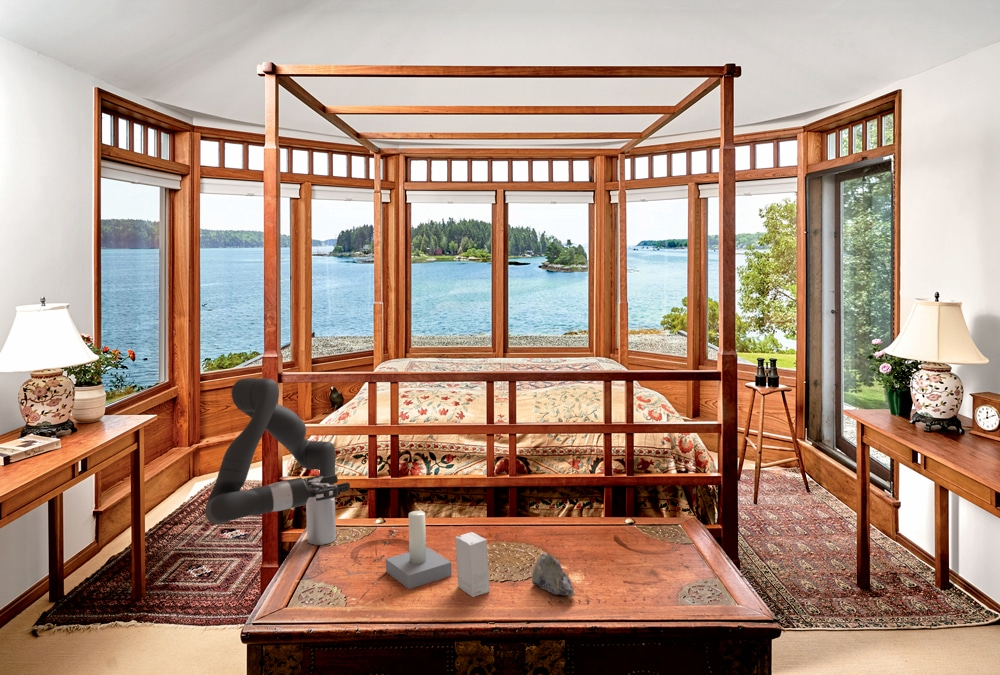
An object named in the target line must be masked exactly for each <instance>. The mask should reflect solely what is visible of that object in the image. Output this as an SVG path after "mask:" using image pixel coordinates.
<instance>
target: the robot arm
mask: <svg viewBox="0 0 1000 675" xmlns="http://www.w3.org/2000/svg"><path fill="white" fill-rule="evenodd" d="M231 398H232V401H233V405H235V407H236V408H237V409H238V410H239V411H240V412H242V413H244V414H246V415H247V416H249V418H251V419H250V421H249V423H247V425H246V426H245V428H244V429H243V430H242V431H241V433H240V434H238V435H237V437H235V439H234V440H233V441H232V442H231V444H230V445H229V446H228V448H227V449H226V451H225V453H224V454H223V457H222V461H221V463H220V464H221V465H220V466H219V471H218V474H217V476H216V477H217V478H216V481H215V483H214V485H213V487H212V489H211V491H210V494H209V497H208V499H207V502H206V506H205V508H204V509H205V510H204V511H205V512H204V513H205V518H206V519H207V521H208V522H209V523H211V524H213V525H223V524H227V523H228V522H230V521H231V522H232V521H234V520H237V519H241V518H245V517H248V516H259V515H263V514H269V513H272V512H281V511H285V510H290V509H293V508H294V509H295V508H298V507H301V506H305V509H306V510H305V512H306V514H305V516H306V536H307V537H306V538H307V543H308V544H309V543H310V544H309V545H312V544H314V545H313V546H323V545H328V544H330V543H333V542H335V541H336V539H337V529H336V528H337V526H336V525H337V524H336V523H337V522H336V520H337V519H336V499H335V498H337V497H338V496H339V493H344V492H349V491H350V489H351V486H350V485H351V484H350V482H348V481H347V482H341V483H338V475H336V449H335V445H334V444H333V443H332V442H331V441H323V440H322V441H318V440H308V439H307V438H306V434H307V427H306V424H305V422H304V421H303V420H302V419H301V417H300V416H298V415H297V413H295V412H294V411H293V410H292V409H290V408H287V407H286V406H283V405H281V404H278V401H279V398H280V388H279V386H278V383H277V382H276V381H275V380H274V379H272V378H259V377H256V378H255V377H245V378H241V379H238V380H237V381H236V382H235V383H234V384H233V386H232V388H231ZM265 431H267V432H268V433H269V434H270V435H271V436H272V438H274V439H275V440H276V441H277V442H278V443H280V444H281V445H282V446H284V448H285V449H286V450H287V451H288V452H289V453H290V454H291V455H292V456H293V457H294V459H295V460H296V461H297V463H298V464H299V465H300V467H302V468H304V469H306V470H314V471H315V470H317V471H319V475H314V476H310V477H305V478H302V477H295V478H292V479H287V480H283V481H282V480H281V481H278V482H274V483H271V484H267V485H262V486H258V487H254V488H251V489H247V490H246V489H245V490H241V489H242V487H244V485H245V483H246V480H247V478H248V474H249V470H250V468H251V465H252V461H253V458H254V455H255V452H256V450H257V447H258V445H259V443H260V440H261V439H262V436H263V435H264V433H265ZM337 483H338V484H337Z"/></svg>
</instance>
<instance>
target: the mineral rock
mask: <svg viewBox="0 0 1000 675" xmlns="http://www.w3.org/2000/svg"><path fill="white" fill-rule="evenodd" d="M531 583H532V585H534V586H538V587H539V588H540V589H541V590H545V591H547V592H548V593H551V594H553V595H562V596H568V597H574V595H575V592H574V591H575V590H574V588H573V585H572V582H571V579H570V577H569V576H568V575H567V574H566V572H565V571H564V570H563V567H562V565H561V562H560V561H559V560H558V559H557V558H556V557H554V555H552V554H548V553H546V552H544V553H543V552H542V553H541V554H540V555H539V558H538V559H537V561H536V562H535V565H534V570H533V572H532V578H531Z"/></svg>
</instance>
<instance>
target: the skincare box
mask: <svg viewBox="0 0 1000 675" xmlns="http://www.w3.org/2000/svg"><path fill="white" fill-rule="evenodd" d="M455 554H456V570H457V571H456V572H457V586H458V588H459V589H460V590H462V591H463V592H464V593H466V594H467V595H469V596H470V597H472V598H475V597H477V596H481V595H485V594H487V593H490V591H491V590H490V589H491V588H490V571H489V560H488V559H489V557H488V556H489V555H488V540H487V539H486V538H484V537H482V536H481V535H479V534H477V533H475V532H474V531H471V532H467V533H464V534H461V535H458V536H455Z"/></svg>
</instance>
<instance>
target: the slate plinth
mask: <svg viewBox="0 0 1000 675" xmlns="http://www.w3.org/2000/svg"><path fill="white" fill-rule="evenodd" d="M385 572H386V573H387V574H388V575H390V577H392V578H393V579H395V580H396V581H398V582H399V583H400V584H401V585H403V586H404V587H405V588H406V589H407V590H411V589H414V588H415V589H416V588H418V587H421V586H423V585H427V584H430V583H433V582H435V581H438V580H442V579H446V578H448V577H451V576H452V575H453V574H452V561H450V560H448V559H447V558H446V557H444V556H442V555H441V554H440V553H438V552H436V551H434V550H433V549H431V548H430V547H429V546H426V561H425V562H424V563H421V564H413V563H411V562H410V553H409V551H408V552H404V553H401V554H397V555H393V556H390V557H386V558H385Z"/></svg>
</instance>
